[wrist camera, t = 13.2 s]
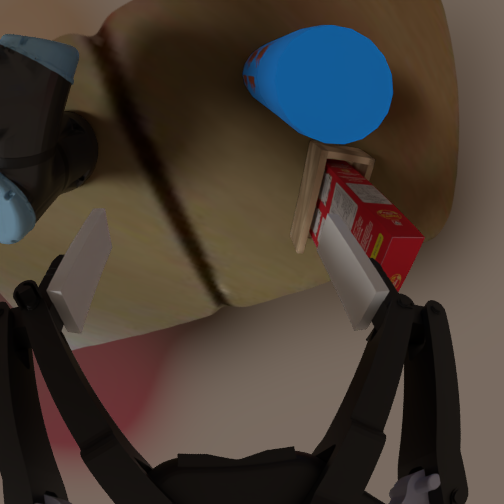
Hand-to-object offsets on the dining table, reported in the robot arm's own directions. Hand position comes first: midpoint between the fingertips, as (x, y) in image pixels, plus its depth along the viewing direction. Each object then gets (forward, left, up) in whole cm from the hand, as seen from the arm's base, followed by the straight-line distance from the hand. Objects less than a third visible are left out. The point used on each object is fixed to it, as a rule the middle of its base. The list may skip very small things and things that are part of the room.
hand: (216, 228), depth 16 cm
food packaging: (+22, -12, -32) cm, 41 cm away
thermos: (+9, +9, -33) cm, 35 cm away
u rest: (+22, -12, -33) cm, 41 cm away
